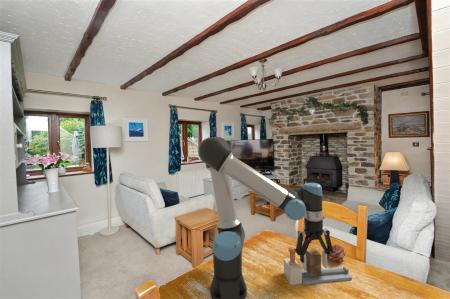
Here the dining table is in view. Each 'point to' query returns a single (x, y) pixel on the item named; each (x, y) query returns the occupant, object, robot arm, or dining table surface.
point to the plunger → (292, 254)
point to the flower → (337, 253)
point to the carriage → (313, 262)
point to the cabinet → (292, 271)
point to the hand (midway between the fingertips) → (314, 267)
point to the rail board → (327, 276)
